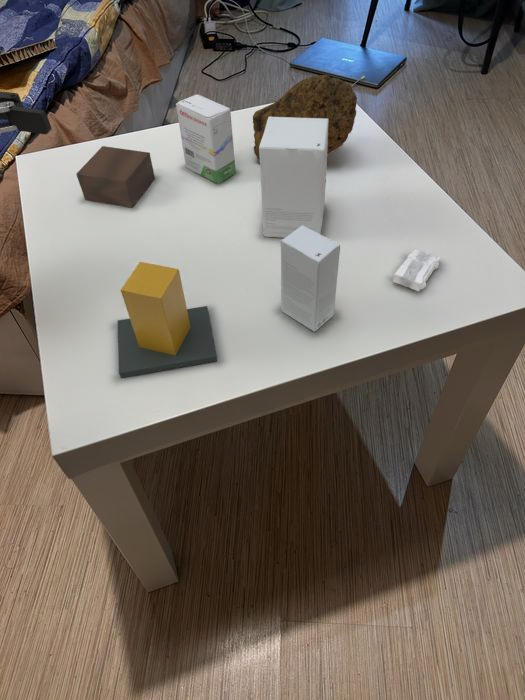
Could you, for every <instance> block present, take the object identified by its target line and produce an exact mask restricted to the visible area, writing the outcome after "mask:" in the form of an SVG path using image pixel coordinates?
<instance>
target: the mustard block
mask: <svg viewBox="0 0 525 700" xmlns="http://www.w3.org/2000/svg"><path fill="white" fill-rule="evenodd" d="M180 273H181V272H180V269H179V268H175V267H169V266H166V265H165V266H164V265H159V264H154V263H150V262H143V261H139V262H138V264H137V265H136V266H135V267H134V269H133V271H132V272H131V274H130V276H129V277H128V278H127V280H126V281H125V282H124V284H123V285H122V287H121V289H120V293H121V296H122V299H123V302H124V305H125V308H126V311H127V314H128V318H129V319H130V320H131V323H132V326H133V329H134V332H135V335H136V338H137V341H138V344H139V347H140V348H144V349H149V350H153V351H157V352H162V353H166V354H171V355H175V356H176V354H177V352H178V350H179V348H180V346H181V344H182V343H183V341H184V339H185V337H186V335H187V333H188V331H189V329H190V327H191V326H190V321H189V317H188V312H187V309H188V307H187V302H186V297H185V291H184V288H183V283H182V279H181V274H180Z"/></svg>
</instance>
